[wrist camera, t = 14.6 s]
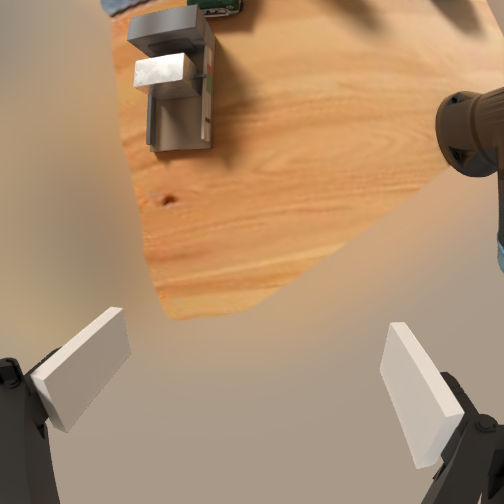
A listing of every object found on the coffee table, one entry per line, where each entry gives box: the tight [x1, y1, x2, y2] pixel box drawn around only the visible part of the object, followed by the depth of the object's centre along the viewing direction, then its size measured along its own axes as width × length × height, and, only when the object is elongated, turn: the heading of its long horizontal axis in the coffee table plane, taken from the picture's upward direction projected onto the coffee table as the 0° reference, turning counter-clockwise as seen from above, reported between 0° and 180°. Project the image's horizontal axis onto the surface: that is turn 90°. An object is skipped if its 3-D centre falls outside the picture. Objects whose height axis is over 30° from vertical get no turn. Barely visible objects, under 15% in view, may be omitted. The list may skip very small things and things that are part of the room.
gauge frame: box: [127, 5, 216, 152], centre depth 38 cm, size 10×20×12 cm, turn 179°
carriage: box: [134, 53, 207, 101], centre depth 37 cm, size 9×4×9 cm, turn 89°
